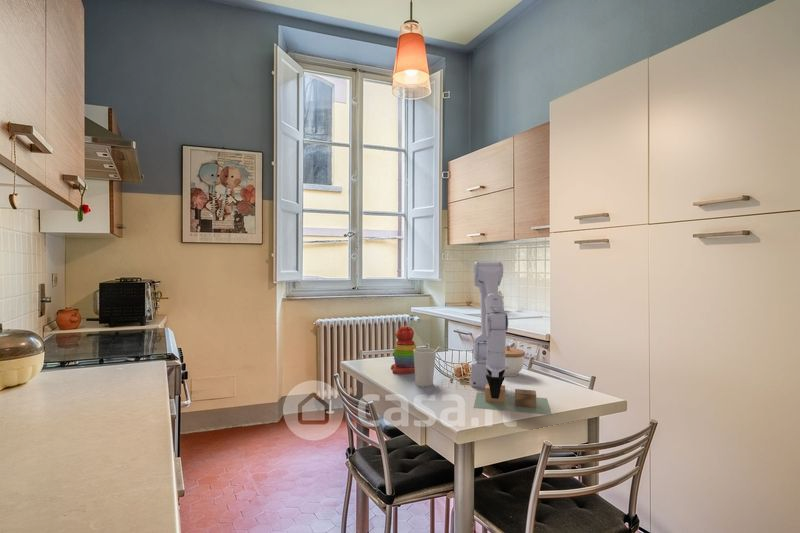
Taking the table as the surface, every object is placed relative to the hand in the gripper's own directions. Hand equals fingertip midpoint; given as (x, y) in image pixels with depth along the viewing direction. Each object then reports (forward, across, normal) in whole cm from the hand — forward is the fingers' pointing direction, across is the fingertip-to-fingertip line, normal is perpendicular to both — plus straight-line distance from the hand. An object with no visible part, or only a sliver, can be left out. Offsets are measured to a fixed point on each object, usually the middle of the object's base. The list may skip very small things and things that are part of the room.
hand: (495, 394), depth 142 cm
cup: (+2, +14, +25) cm, 29 cm away
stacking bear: (+2, +31, +36) cm, 48 cm away
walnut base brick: (+2, -3, -9) cm, 10 cm away
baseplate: (+2, -2, -5) cm, 6 cm away
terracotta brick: (+2, 0, 0) cm, 2 cm away
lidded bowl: (+2, +38, -4) cm, 38 cm away
